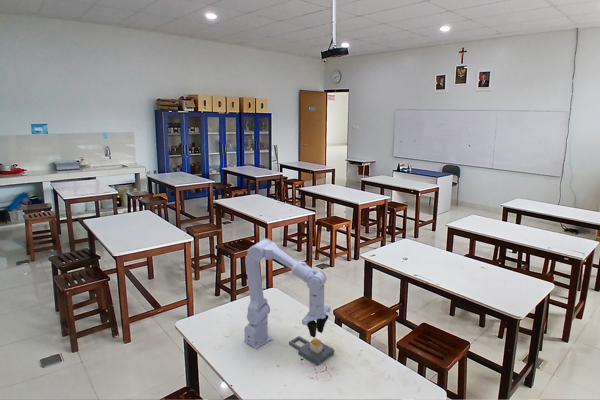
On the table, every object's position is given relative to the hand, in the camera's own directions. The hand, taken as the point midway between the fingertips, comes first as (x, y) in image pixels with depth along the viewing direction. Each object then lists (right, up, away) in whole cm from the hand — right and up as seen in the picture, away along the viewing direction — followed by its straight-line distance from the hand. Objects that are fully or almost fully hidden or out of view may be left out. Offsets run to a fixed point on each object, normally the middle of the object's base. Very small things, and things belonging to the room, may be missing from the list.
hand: (316, 334), depth 150 cm
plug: (0, -9, +2) cm, 9 cm away
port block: (0, -9, +2) cm, 9 cm away
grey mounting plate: (-7, -7, +8) cm, 13 cm away
